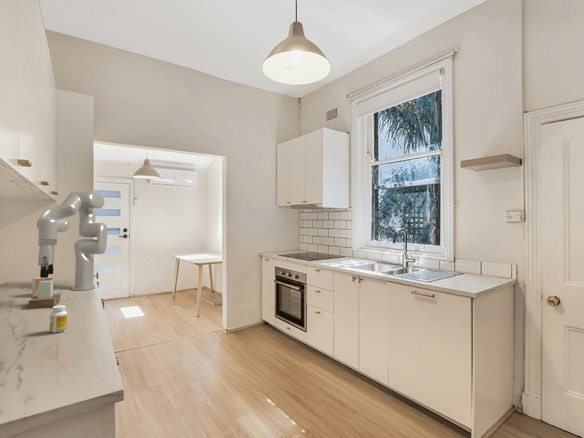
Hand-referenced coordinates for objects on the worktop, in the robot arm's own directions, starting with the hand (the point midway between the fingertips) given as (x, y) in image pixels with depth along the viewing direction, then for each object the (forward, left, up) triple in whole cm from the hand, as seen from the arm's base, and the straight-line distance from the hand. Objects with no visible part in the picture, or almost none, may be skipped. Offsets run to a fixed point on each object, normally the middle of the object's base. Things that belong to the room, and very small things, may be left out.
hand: (46, 275), depth 162 cm
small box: (-24, -7, -15) cm, 30 cm away
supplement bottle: (+50, +15, -15) cm, 54 cm away
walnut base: (+1, 0, -15) cm, 15 cm away
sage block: (0, 0, -11) cm, 11 cm away
